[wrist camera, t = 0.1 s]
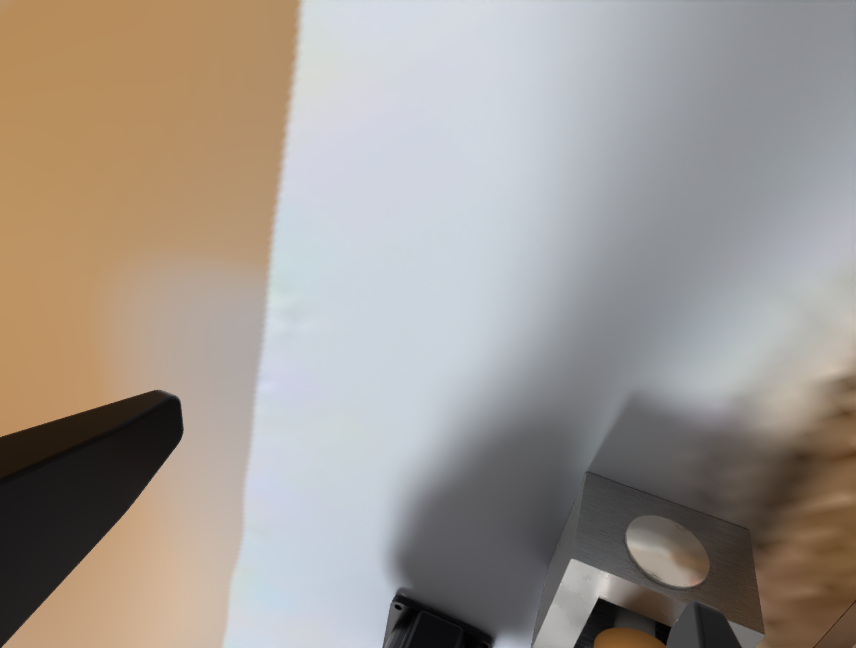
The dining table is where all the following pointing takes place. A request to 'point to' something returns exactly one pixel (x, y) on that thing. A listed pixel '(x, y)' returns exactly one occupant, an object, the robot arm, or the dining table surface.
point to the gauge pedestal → (643, 568)
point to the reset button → (629, 632)
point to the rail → (841, 632)
